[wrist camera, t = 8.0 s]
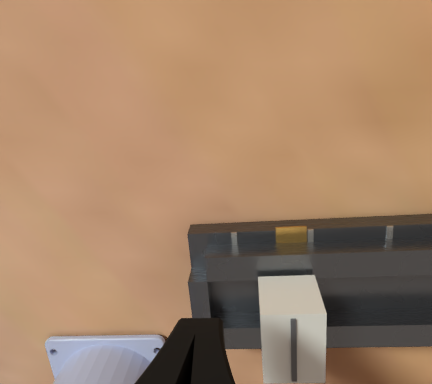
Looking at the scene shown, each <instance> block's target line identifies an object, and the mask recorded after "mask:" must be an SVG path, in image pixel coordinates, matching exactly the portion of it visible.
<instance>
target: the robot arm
mask: <svg viewBox="0 0 432 384" xmlns="http://www.w3.org/2000/svg"><path fill="white" fill-rule="evenodd" d="M45 347H46V351H47V354H48V358H49V361H50V365H51V368H52V372H53V375H54V378H55V381H54V383H53V384H235V382H234V379H233V376H232V373H231V369H230V366H229V362H228V359H227V355H226V351H225V340H224V328H223V321H222V320H221V319H220V318H181V319H180V320H179V321H178V322H177V324H176V326H175V327H174V329H173V331H172V332H171V334H170V335H169V337H168V338H167V340H166V341H165V339H164V338H163V337H162V336H160V335H108V336H52V337H49V338H48V339H47V341H46V342H45ZM156 348H160V350H158V349H156ZM53 349H55V350H56V351H55V350H53Z"/></svg>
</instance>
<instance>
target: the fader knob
mask: <svg viewBox="0 0 432 384" xmlns="http://www.w3.org/2000/svg"><path fill="white" fill-rule="evenodd" d="M258 288H259V308H260V327H261V346H262V364H263V382H264V383H325V377H326V327H327V313H326V310H325V307H324V303H323V300H322V297H321V294H320V291H319V287H318V284H317V281H316V278H315V275H297V276H265V277H258Z"/></svg>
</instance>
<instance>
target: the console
mask: <svg viewBox="0 0 432 384" xmlns="http://www.w3.org/2000/svg"><path fill="white" fill-rule="evenodd" d="M188 242H189V250H190V259H191V267H192V268H191V273H190V277H189V281H188V286H189V294H190V302H191V310H192V318H220V319H221V320H222V321H223V328H224V340H225V349H262V346H261V327H260V308H259V288H258V277H265V276H297V275H315V278H316V281H317V284H318V287H319V291H320V294H321V297H322V300H323V303H324V307H325V310H326V313H327V327H326V348H344V347H421V346H432V214H420V215H398V216H375V217H353V218H330V219H308V220H286V221H263V222H241V223H218V224H196V225H190V228H189V231H188Z"/></svg>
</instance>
